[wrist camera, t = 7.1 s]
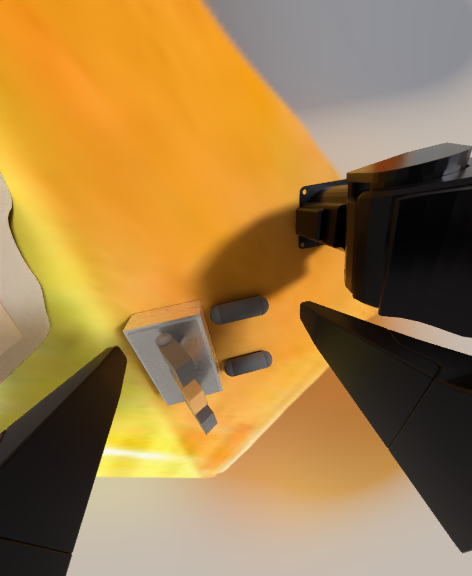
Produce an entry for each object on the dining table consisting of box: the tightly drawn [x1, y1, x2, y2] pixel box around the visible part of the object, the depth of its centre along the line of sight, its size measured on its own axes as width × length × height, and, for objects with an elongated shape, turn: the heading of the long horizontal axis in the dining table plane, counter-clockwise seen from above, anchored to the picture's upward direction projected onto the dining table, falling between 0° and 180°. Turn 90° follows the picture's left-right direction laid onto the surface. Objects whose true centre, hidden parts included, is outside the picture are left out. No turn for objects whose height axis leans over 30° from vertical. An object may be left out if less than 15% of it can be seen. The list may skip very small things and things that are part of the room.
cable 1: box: [210, 296, 269, 325], centre depth 22 cm, size 7×2×2 cm, turn 98°
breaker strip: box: [122, 300, 223, 405], centre depth 23 cm, size 8×14×3 cm, turn 8°
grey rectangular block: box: [155, 333, 199, 388], centre depth 17 cm, size 2×3×5 cm
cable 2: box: [224, 351, 272, 377], centre depth 26 cm, size 7×2×2 cm, turn 98°
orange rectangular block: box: [170, 369, 208, 415], centre depth 19 cm, size 2×3×5 cm, turn 9°
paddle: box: [182, 394, 217, 435], centre depth 21 cm, size 2×3×5 cm
